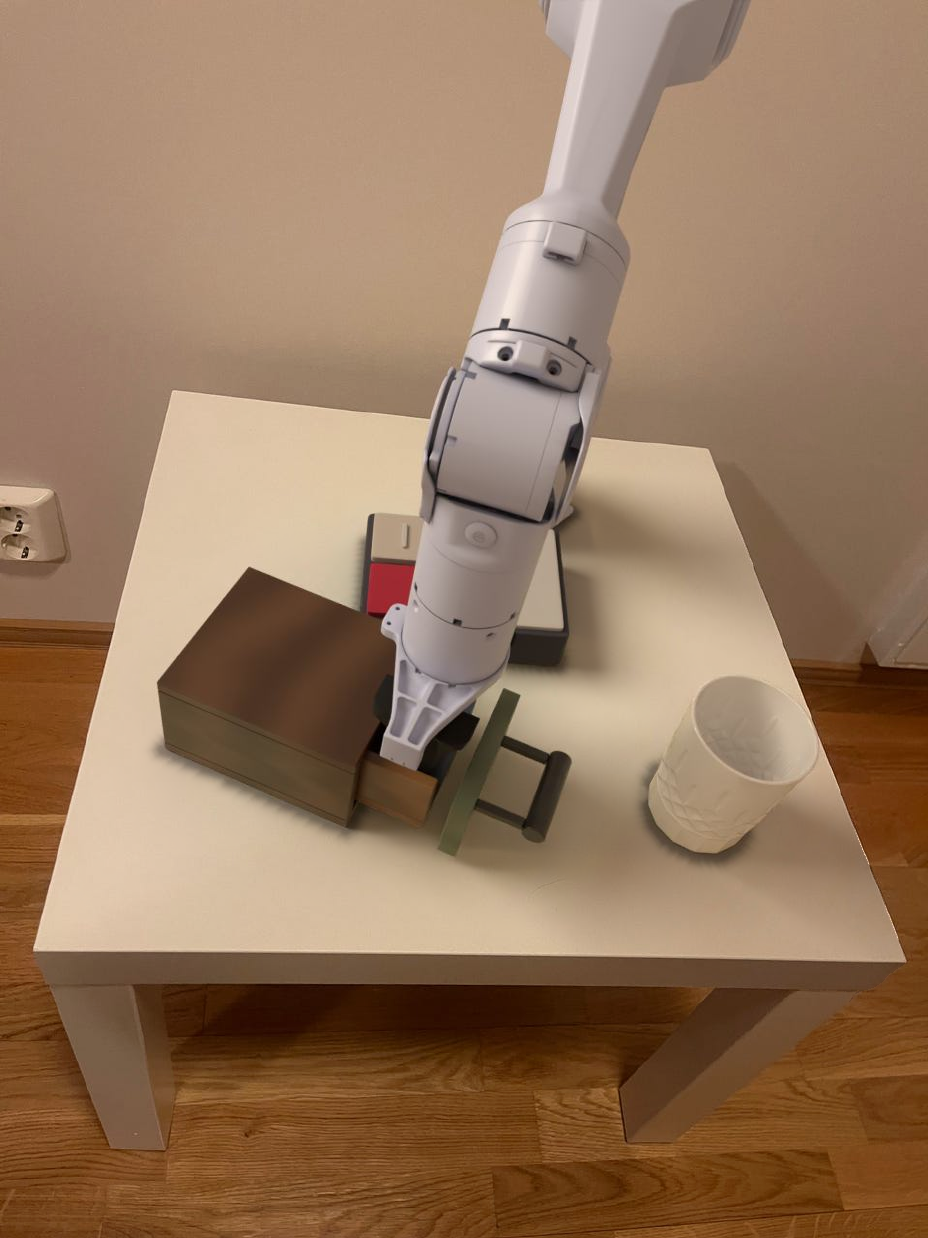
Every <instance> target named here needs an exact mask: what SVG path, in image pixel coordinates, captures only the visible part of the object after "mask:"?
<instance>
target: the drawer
mask: <svg viewBox="0 0 928 1238" xmlns="http://www.w3.org/2000/svg"><path fill="white" fill-rule="evenodd" d="M521 696H522V695H521V694H519V693H517V692H515V691H512V690H510V689H508V688H505V687H503V688H502V690H501V692H500V694H499V697H498V699H497V701H496V704H495V706H494V708H493V710H492V713H491V715H490V717H489V720H488V721H487V724H486V726H485V729H484V731H483V732H482V735H481V737H480V740H479V742H478V744H477V747H476V749H475V751H474V754H473V756H472V758H471V760H470V762H469V764H468V767H467V769H466V771H465V774H464V776H463V778H462V781H461V783H460V785H459V787H458V790H457V792H456V794H455V796H454V799H453V800H452V803H451V806H450V808H449V812H448V814H447V817H446V821H445V824H444V827H443V829H442V832H441V836H440V839H439V842H438V844H437V848H436V850H437V851H440V852H442V853H444V854H446V855H449V856H451V857H453V858H455V857H456V856H457V854H458V850H459V849H460V846H461V844H462V841H463V839H464V838H465V837H464V836H465V835H466V832H467V830H468V827H469V825H470V822H471V820H472V818H473V815H474V812H477V813H479V814H482V815H485V816H487V817H489V818H491V819H494V820H495V821H498V822H500V823H503V824H505V825H507V826H510V827H512V828H514V829H517V830H520V833H521V836H522V837H523V838H524V839H525V840H527V841H528V842H531V843H533V844H543V843H544V842H545V841H546V839H547V836H548V833H549V831H550V828H551V825H552V822H553V818H554V815H555V813H556V810H557V806H558V803H559V801H560V798H561V795H562V793H563V790H564V786H565V784H566V782H567V781H566V780H567V778H568V775H569V772H570V769H571V767H572V763H573V759H572V757H571V756H570V755H569V754H568V753H566V752H564V751H561V750H553V751H551V752H550V753H549V752H547V751H545V750H542V749H540V748H538V747H537V748H536V747H535V746H532V745H530V744H527V743H525V742H523V741H520V740H518V739H515V738H513V737H511V736H508V735H507V733H508V731H509V727H510V725H511V723H512V720H513V717H514V714H515V712H516V709H517V706H518V705H519V701H520V699H521ZM477 700H478V698H477V699H476V702H475V705H474V708H473V712H472V714H474V710H475V708H476V707H475V706H476V703H477ZM386 729H387V728H386V726H385V725H384V724H383V723H382V725H381V727H380V728H379V730H378V732H377V734H376V736H375V738H374V739H373V741H372V743H371V745H370V747H369V749H368V750H367V752H366V754H365V756H364V758H363V760H362V762H361V763H360V767H359V773H358V779H357V785H356V791H355V797H354V800H356V801H358V802H359V803H361V804H363V805H366V806H367V807H370V808H372V809H375V810H376V811H379V812H381V813H384V814H386V815H389V816H390V817H393V818H396V819H398V820H400V821H401V822H402V821H403V822H404V823H407V824H410V825H412V826H414V827H416V828H418V829H424V826H425V824H426V822H427V820H428V817H429V815H430V813H431V812H432V809H433V806H434V804H435V802H436V799H437V798H438V795H439V793H440V791H441V788H442V786H443V784H441V783H438V779H436V778H434V777H431V776H429V775H427V774H424V773H422V772H420V771H417V770H416V771H414V770H412V769H409V768H407V767H405V766H401V765H399V764H397V763H394V762H392V761H390V760H388V759H386V758H383V757H381V756H380V752H381V747H382V742H383V737H384V733H385V731H386ZM502 748H503V749H504V750H507V751H509V752H512V753H514V754H517V755H520V756H522V757H524V758H527V759H530V760H532V761H534V762H536V763H539V764H541V765H543V766H544V768H543V770H542V773H541V776H540V779H539V781H538V784H537V786H536V790H535V792H534V795H533V797H532V800H531V803H530V805H529V808H528V811H527V813H526V816H525V817H524V816H522V815H519V814H518V813H515V812H512V811H510V810H508V809H505V808H504V807H501V806H498V805H496V804H494V803H491V802H489V801H488V800H487V801H486V800H484V799H481V796H482V793H483V791H484V789H485V787H486V784H487V781H488V779H489V777H490V775H491V772H492V770H493V767H494V765H495V762H496V759H497V758H498V755H499V753H500V750H501V749H502Z"/></svg>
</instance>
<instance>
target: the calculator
mask: <svg viewBox="0 0 928 1238" xmlns="http://www.w3.org/2000/svg"><path fill="white" fill-rule="evenodd" d="M423 524H424V520H423V518H421V517H419V515H411V514H398V513H386V512H376V513H370V514H368V516H367V522H366V535H365V546H364V555H363V556H364V558H363V567H362V578H361V579H362V580H361V590H360V603H359V612H362V613H364V614H367V615H369V616H371V617H374V618H376V619H379V620H381V621H383V619H384V617H385V616H386V614H387V612H388V611H389V609H390V607H391V606H392V605H394V604H403V605H405V606H408V601H409V596H410V590H411V585H412V580H413V575H414V570H415V565H416V560H417V554H418V549H419V544H420V539H421V534H422V529H423ZM562 557H563V556H562V549H561V539H560V532H559V531H558V530H557V529H555V528H552V529H549V531H548V533H547V536H546V539H545V542H544V545H543V548H542V551H541V554H540V557H539V560H538V563H537V566H536V569H535V572H534V575H533V578H532V581H531V584H530V587H529V590H528V593H527V596H526V598H525V601H524V604H523V607H522V610H521V613H520V616H519V619H518V622H517V625H516V628H515V632H516V639H515V642H514V645H513V647H512V649H511V651H510V656H509V660H508V663H514V664H524V665H525V664H527V665H540V666H541V665H542V666H558V665H559V664H560V662H561V660H562V657H563V654H564V651H565V648H566V646H567V642H568V639H569V636H570V626H569V616H568V606H567V598H566V597H567V596H566V586H565V579H564V578H565V577H564V567H563V558H562Z"/></svg>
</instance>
